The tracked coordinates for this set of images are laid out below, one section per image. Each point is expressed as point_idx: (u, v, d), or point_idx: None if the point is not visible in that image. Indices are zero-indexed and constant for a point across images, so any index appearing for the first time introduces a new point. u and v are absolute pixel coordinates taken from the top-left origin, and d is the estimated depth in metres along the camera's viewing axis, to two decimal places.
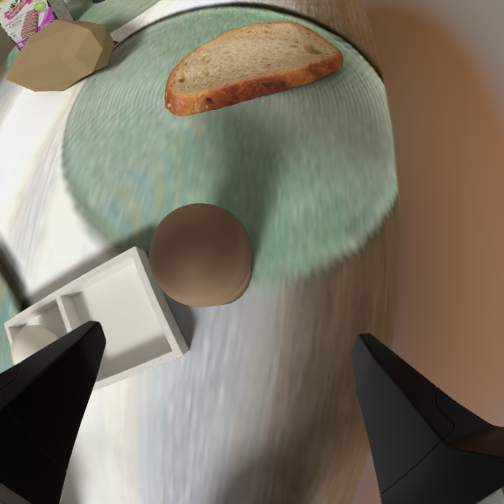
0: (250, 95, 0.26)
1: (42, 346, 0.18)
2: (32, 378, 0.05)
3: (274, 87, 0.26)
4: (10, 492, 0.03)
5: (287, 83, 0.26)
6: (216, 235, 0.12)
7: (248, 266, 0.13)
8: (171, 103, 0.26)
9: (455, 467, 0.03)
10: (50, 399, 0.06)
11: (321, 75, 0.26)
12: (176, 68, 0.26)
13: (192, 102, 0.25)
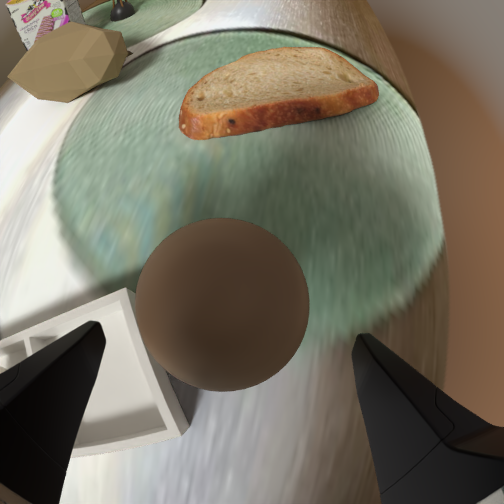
0: (280, 121, 0.23)
1: None
2: (32, 378, 0.05)
3: (307, 114, 0.23)
4: (10, 492, 0.03)
5: (323, 110, 0.23)
6: (262, 268, 0.06)
7: (306, 327, 0.08)
8: (187, 123, 0.23)
9: (455, 467, 0.03)
10: (50, 399, 0.06)
11: (358, 105, 0.24)
12: (195, 86, 0.24)
13: (212, 123, 0.22)
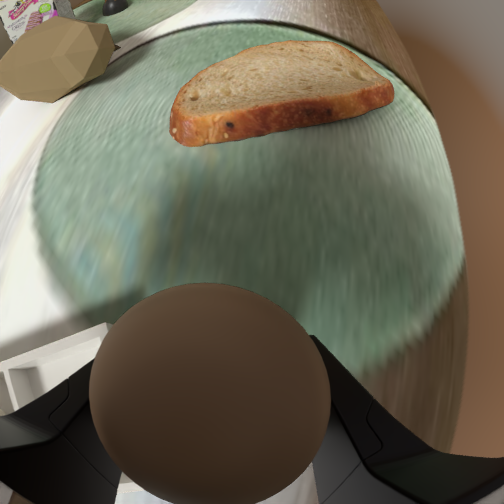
0: (286, 124, 0.20)
1: None
2: None
3: (317, 116, 0.20)
4: None
5: (334, 111, 0.20)
6: (268, 396, 0.04)
7: None
8: (178, 127, 0.19)
9: (373, 494, 0.03)
10: None
11: (373, 106, 0.21)
12: (188, 84, 0.21)
13: (206, 127, 0.19)
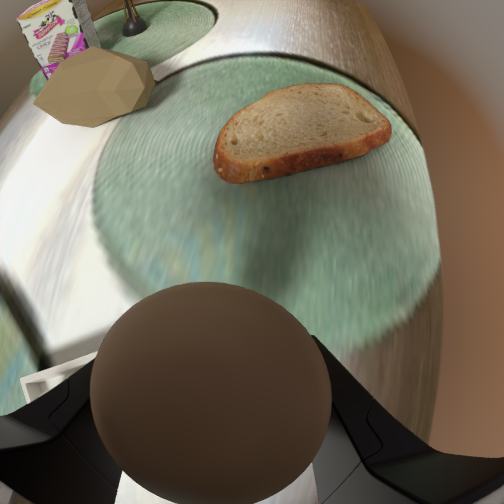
0: (307, 166, 0.27)
1: None
2: (89, 396, 0.05)
3: (331, 159, 0.27)
4: None
5: (344, 154, 0.27)
6: (269, 394, 0.04)
7: None
8: (224, 167, 0.26)
9: (373, 495, 0.03)
10: None
11: (374, 147, 0.27)
12: (226, 127, 0.27)
13: (248, 170, 0.26)
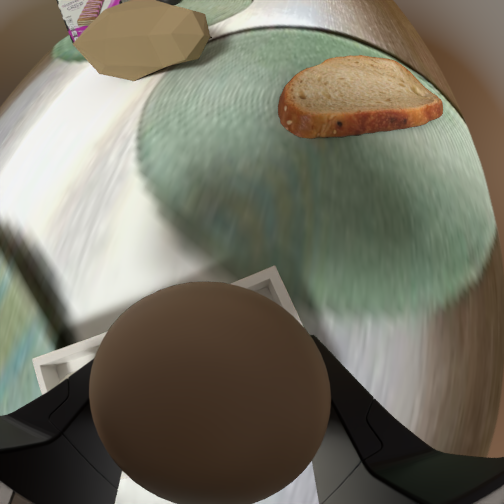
0: (376, 128, 0.23)
1: None
2: None
3: (397, 123, 0.23)
4: None
5: (408, 121, 0.23)
6: (267, 394, 0.04)
7: None
8: (294, 119, 0.23)
9: (374, 495, 0.03)
10: None
11: (431, 118, 0.24)
12: (291, 83, 0.24)
13: (321, 123, 0.22)
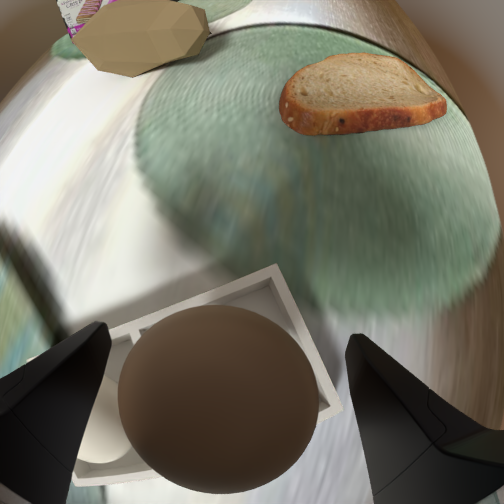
0: (379, 126, 0.23)
1: (109, 408, 0.11)
2: (38, 380, 0.05)
3: (401, 121, 0.23)
4: (16, 496, 0.03)
5: (412, 119, 0.23)
6: (266, 401, 0.05)
7: None
8: (295, 116, 0.22)
9: (446, 471, 0.03)
10: (56, 401, 0.06)
11: (435, 117, 0.23)
12: (293, 80, 0.23)
13: (323, 120, 0.22)
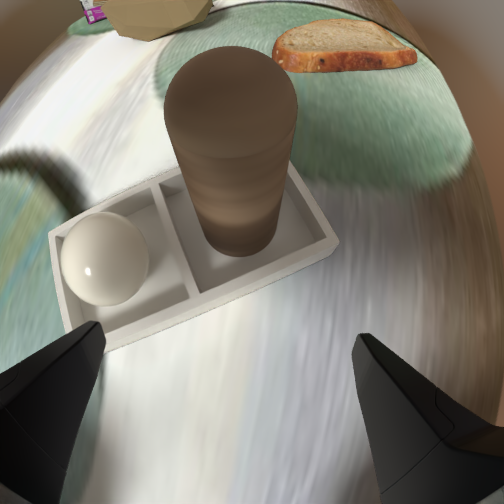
0: (354, 66, 0.26)
1: (127, 228, 0.15)
2: (32, 378, 0.05)
3: (373, 63, 0.25)
4: (10, 492, 0.03)
5: (383, 62, 0.25)
6: (260, 54, 0.08)
7: (295, 109, 0.09)
8: (284, 59, 0.25)
9: (455, 467, 0.03)
10: (50, 399, 0.06)
11: (406, 63, 0.26)
12: (282, 36, 0.26)
13: (307, 60, 0.25)
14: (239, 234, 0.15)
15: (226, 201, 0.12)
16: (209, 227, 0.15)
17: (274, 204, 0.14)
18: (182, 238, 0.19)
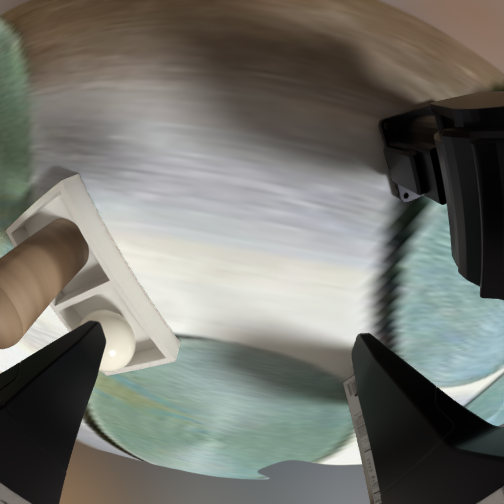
0: None
1: None
2: (32, 378, 0.05)
3: None
4: (10, 492, 0.03)
5: None
6: None
7: None
8: None
9: (455, 467, 0.03)
10: (50, 399, 0.06)
11: None
12: None
13: None
14: (65, 263, 0.18)
15: (43, 292, 0.15)
16: (67, 281, 0.19)
17: (40, 251, 0.16)
18: (85, 283, 0.23)
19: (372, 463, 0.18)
